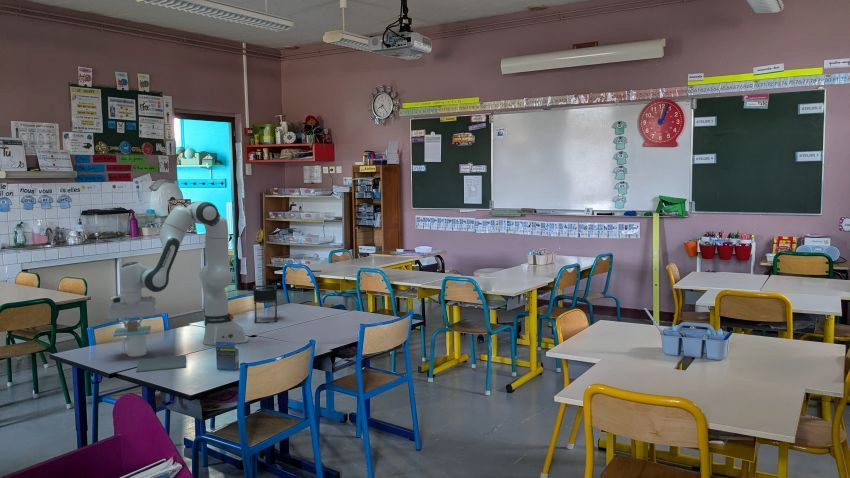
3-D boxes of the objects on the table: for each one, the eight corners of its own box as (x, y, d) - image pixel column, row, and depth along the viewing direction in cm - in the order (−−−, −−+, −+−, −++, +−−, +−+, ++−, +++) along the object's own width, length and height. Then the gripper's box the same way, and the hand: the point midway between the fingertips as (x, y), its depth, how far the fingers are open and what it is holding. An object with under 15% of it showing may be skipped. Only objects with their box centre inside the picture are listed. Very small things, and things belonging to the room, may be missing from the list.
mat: (186, 356, 306) (186, 355, 306) (186, 367, 287) (186, 366, 287) (139, 360, 299) (139, 359, 299) (136, 372, 280) (136, 371, 280)
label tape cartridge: (239, 368, 287) (238, 340, 286) (235, 370, 283) (234, 342, 282) (220, 367, 288) (219, 339, 287) (216, 369, 284) (215, 341, 283)
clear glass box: (254, 324, 375) (253, 285, 374) (254, 318, 392) (253, 281, 390) (277, 323, 378) (276, 285, 376) (277, 317, 395) (276, 280, 393)
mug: (128, 359, 300) (127, 337, 299) (116, 357, 304) (115, 335, 303) (150, 353, 311) (149, 332, 310) (138, 351, 315) (137, 330, 314)
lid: (151, 327, 316) (150, 317, 316) (149, 334, 302) (149, 323, 302) (116, 329, 311) (116, 319, 311) (113, 336, 297) (112, 326, 297)
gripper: (155, 294, 312) (156, 323, 313) (108, 297, 305) (109, 327, 306) (155, 297, 306) (156, 326, 307) (106, 299, 299) (107, 329, 300)
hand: (132, 326), depth 306 cm, fingers closed on lid, 4 cm apart
